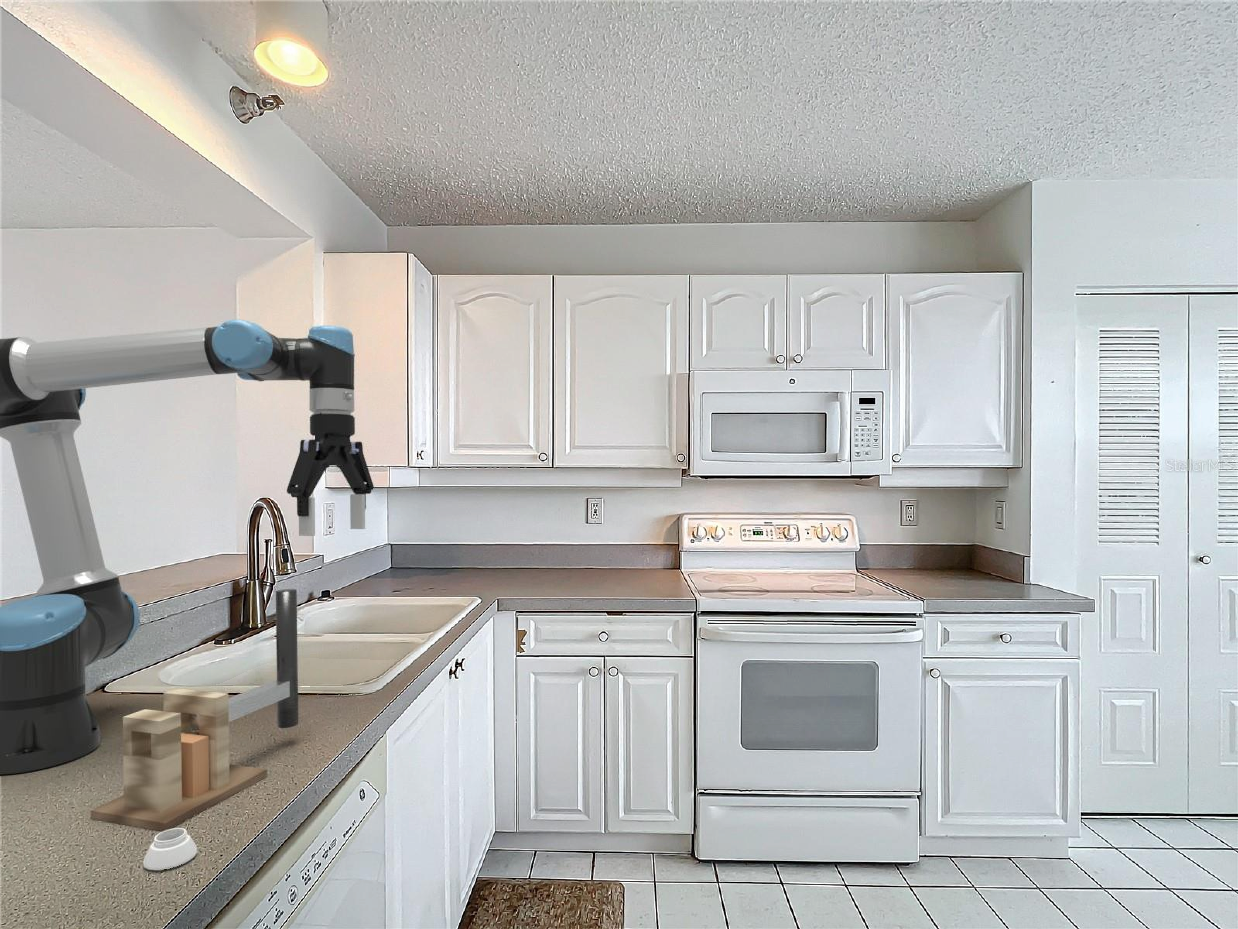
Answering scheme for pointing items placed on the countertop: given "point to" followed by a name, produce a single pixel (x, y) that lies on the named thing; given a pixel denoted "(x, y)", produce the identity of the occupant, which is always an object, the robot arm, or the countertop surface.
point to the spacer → (194, 764)
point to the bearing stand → (174, 762)
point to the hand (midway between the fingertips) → (333, 532)
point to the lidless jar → (170, 850)
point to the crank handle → (287, 671)
